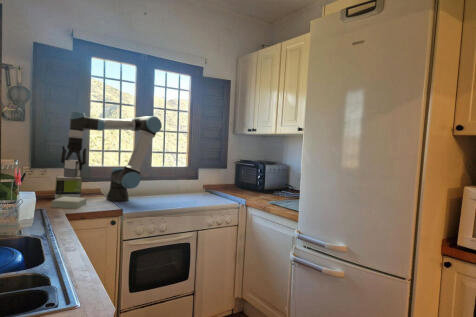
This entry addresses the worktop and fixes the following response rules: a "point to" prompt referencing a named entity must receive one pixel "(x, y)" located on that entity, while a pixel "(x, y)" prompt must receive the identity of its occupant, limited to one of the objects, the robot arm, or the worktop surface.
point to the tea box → (68, 187)
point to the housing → (71, 168)
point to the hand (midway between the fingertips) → (72, 175)
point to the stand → (69, 202)
